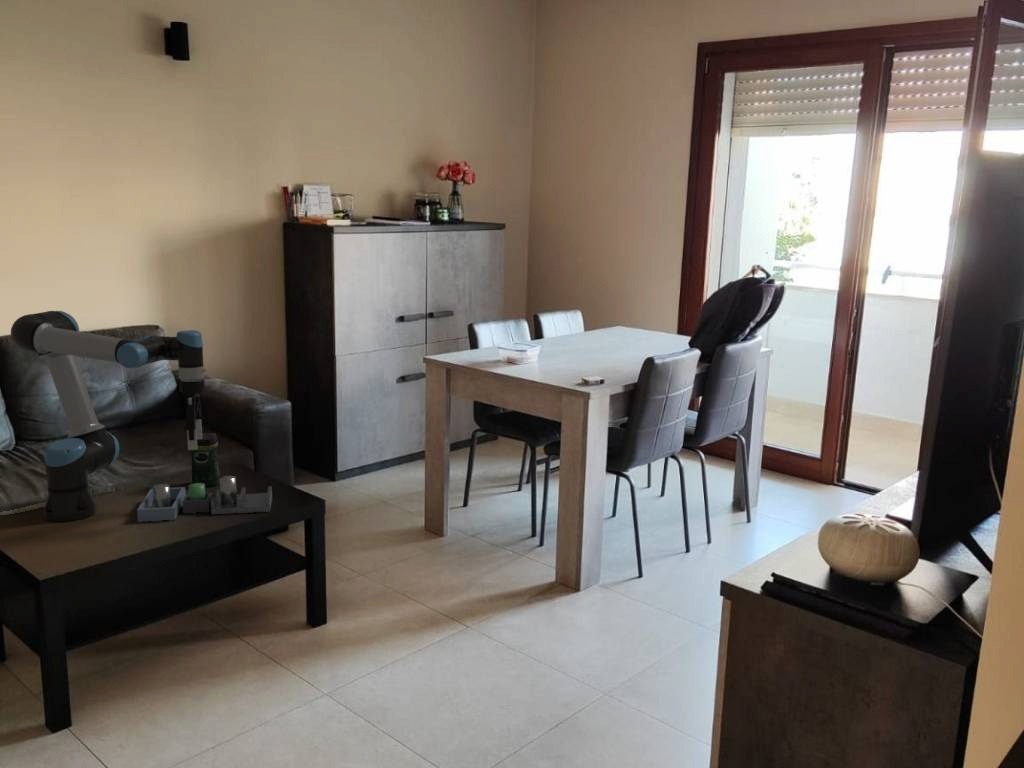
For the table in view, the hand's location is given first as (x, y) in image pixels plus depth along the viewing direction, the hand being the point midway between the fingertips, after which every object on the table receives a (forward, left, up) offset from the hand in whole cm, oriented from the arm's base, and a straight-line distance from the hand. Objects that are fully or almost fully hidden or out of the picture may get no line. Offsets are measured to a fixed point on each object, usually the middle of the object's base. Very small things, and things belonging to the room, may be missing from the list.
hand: (195, 444), depth 284 cm
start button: (0, -1, -19) cm, 19 cm away
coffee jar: (-1, +27, -22) cm, 35 cm away
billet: (-11, 0, -22) cm, 24 cm away
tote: (-11, 0, -21) cm, 24 cm away
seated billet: (+10, -1, -19) cm, 22 cm away
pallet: (+14, -1, -21) cm, 26 cm away
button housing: (0, -1, -21) cm, 21 cm away
